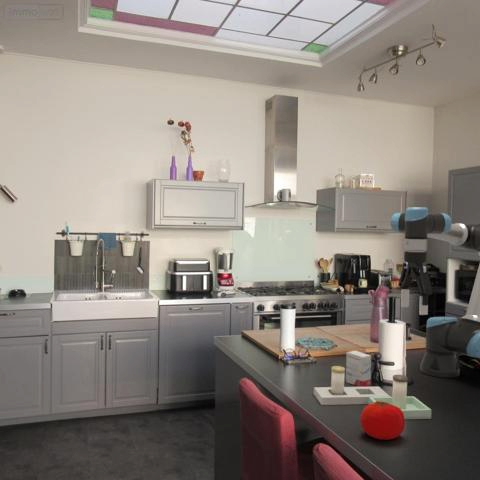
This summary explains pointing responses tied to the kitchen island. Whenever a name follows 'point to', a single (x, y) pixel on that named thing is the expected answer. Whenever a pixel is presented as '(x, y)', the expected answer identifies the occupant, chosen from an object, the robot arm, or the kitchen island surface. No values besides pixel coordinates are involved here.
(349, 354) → the ink box
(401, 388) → the cylinder
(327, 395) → the socket strip
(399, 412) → the tomato
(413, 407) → the parts tray
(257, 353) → the kitchen island surface
